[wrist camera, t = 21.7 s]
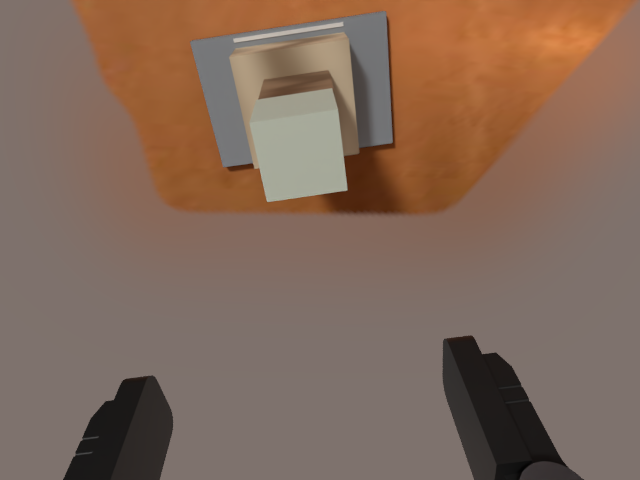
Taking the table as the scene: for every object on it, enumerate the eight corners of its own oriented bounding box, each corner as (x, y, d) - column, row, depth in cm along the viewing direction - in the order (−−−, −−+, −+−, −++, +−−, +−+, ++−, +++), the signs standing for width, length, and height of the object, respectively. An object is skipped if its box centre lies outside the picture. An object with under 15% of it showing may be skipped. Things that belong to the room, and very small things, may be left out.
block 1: (328, 70, 34) (333, 88, 29) (335, 133, 37) (342, 160, 32) (263, 79, 34) (257, 99, 29) (275, 141, 37) (272, 170, 32)
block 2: (332, 88, 29) (338, 109, 25) (340, 160, 32) (347, 190, 28) (256, 99, 29) (249, 123, 25) (271, 170, 32) (267, 202, 28)
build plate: (384, 10, 37) (386, 11, 36) (391, 140, 42) (392, 143, 42) (192, 40, 37) (189, 42, 36) (224, 164, 43) (223, 167, 42)
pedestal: (344, 32, 37) (348, 39, 33) (354, 138, 41) (359, 153, 38) (235, 48, 37) (229, 57, 34) (257, 152, 42) (254, 168, 38)
